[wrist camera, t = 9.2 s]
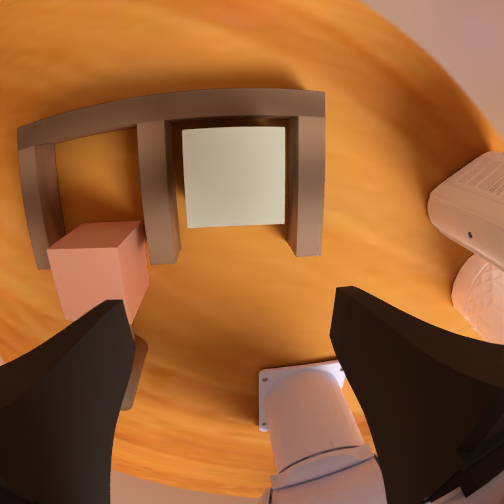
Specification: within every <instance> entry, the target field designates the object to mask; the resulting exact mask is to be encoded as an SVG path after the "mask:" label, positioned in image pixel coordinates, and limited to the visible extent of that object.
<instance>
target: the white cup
mask: <svg viewBox="0 0 504 504" xmlns="http://www.w3.org/2000/svg"><path fill="white" fill-rule="evenodd" d="M451 298H452V303H453V307H454V308H455V309H456V310H457V311H458V312H459V313H460V314H461V315H462V316H463V317H464V318H465V319H466V320H467V321H468V323H469V324H470V326H471V327H472V328H473V329H474V330H475V331H476V333H477V334H478V335H479V336H480V337H481V338H482V339H483V341H485V342H490V343H495V344H501V345H504V272H502V271H501V270H499V269H498V268H496V267H495V266H493V265H492V264H490V263H489V262H487V261H485V260H484V259H482V258H481V257H479V256H477V255H476V254H474V255H472V256H471V257H469V258H468V260H467V261H466V262H465V263H464V265H463V266H462V267H461V269H460V270H459V273H458V275H457V277H456V279H455V281H454V284H453V289H452V295H451Z"/></svg>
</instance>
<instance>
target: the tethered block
mask: <svg viewBox="0 0 504 504" xmlns="http://www.w3.org/2000/svg"><path fill="white" fill-rule="evenodd" d="M47 254H48V259H49V263H50V267H51V272H52V276H53V279H54V283H55V287H56V291H57V294H58V298H59V301H60V304H61V308H62V311H63V314H64V317H65V320H69V321H76V320H77V319H79V318H80V317H81V316H83V315H84V314H85V313H87V312H88V311H90V310H91V309H92V308H94V307H95V306H97V305H98V304H100V303H102V302H103V301H105V300H114V299H123V303H124V307H125V310H126V314H127V318H128V322H129V325H130V329H131V332H132V336H133V339H134V342H135V346H136V349H135V355H134V362H133V367H132V372H131V375H130V379H129V382H128V385H127V389H126V392H125V395H124V399H123V402H122V405H121V409H120V410H129V409H131V408H132V406H133V402H134V398H135V394H136V390H137V386H138V382H139V378H140V375H141V371H142V367H143V364H144V360H145V357H146V353H147V349H148V347H147V344H146V343H145V341H144V340H143V339H141V338H140V337H138V336H134V334H133V330H132V326H131V324H132V323H133V320H134V318H135V316H136V313H137V311H138V309H139V306H140V304H141V302H142V299H143V297H144V295H145V293H146V290H147V288H148V286H149V284H150V281H149V274H148V266H147V259H146V250H145V241H144V231H143V221H142V220H140V221H118V222H99V223H83V224H81V225H80V226H78V227H77V228H76V229H74V230H73V231H71V232H70V233H68V234H67V235H66V236H64V237H63V238H61V239H60V240H59V241H57V242H56V243H55V244H53V245H52V246H51V247H49V248H48V249H47Z"/></svg>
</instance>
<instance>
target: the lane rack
mask: <svg viewBox="0 0 504 504" xmlns="http://www.w3.org/2000/svg"><path fill="white" fill-rule="evenodd" d="M225 119H288V239H287V243H288V244H289V246H290V247H291V249H292V251H293V252H294V254H295V256H296V257H304V256H321V243H322V227H323V208H324V183H325V92H322V91H311V90H297V89H276V88H226V89H205V90H191V91H180V92H170V93H162V94H154V95H147V96H140V97H134V98H128V99H123V100H117V101H112V102H107V103H102V104H98V105H93V106H89V107H85V108H81V109H77V110H73V111H69V112H66V113H62V114H58V115H55V116H52V117H48V118H45V119H42V120H39V121H36V122H33V123H30V124H27V125H24V126H22V127H19V128H17V137H18V156H19V168H20V178H21V187H22V194H23V201H24V207H25V213H26V219H27V224H28V229H29V234H30V238H31V243H32V247H33V251H34V255H35V259H36V263H37V266H38V270H39V269H51V267H50V263H49V259H48V254H47V249H48V248H49V247H51V246H52V245H53V244H55V243H56V242H57V241H59V240H60V239H61V238H63V237H64V236H66V232H65V227H64V222H63V216H62V210H61V203H60V196H59V189H58V180H57V171H56V160H55V145H54V144H55V143H59V142H63V141H67V140H72V139H76V138H81V137H85V136H90V135H95V134H100V133H106V132H111V131H117V130H123V129H130V128H136V127H137V138H138V157H139V171H140V183H141V194H142V204H143V213H144V221H145V229H146V237H147V244H148V251H149V257H150V264H151V265H154V264H174V263H176V260H177V258H178V255H179V252H180V249H181V244H180V235H179V225H178V214H177V202H176V188H175V174H174V156H173V133H172V123H179V122H191V121H205V120H225Z"/></svg>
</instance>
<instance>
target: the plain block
mask: <svg viewBox="0 0 504 504" xmlns="http://www.w3.org/2000/svg"><path fill="white" fill-rule="evenodd" d="M182 144H183V166H184V184H185V200H186V213H187V226H188V228H200V227H220V226H241V225H265V224H284V222H285V127H221V128H202V129H188V130H182Z"/></svg>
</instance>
